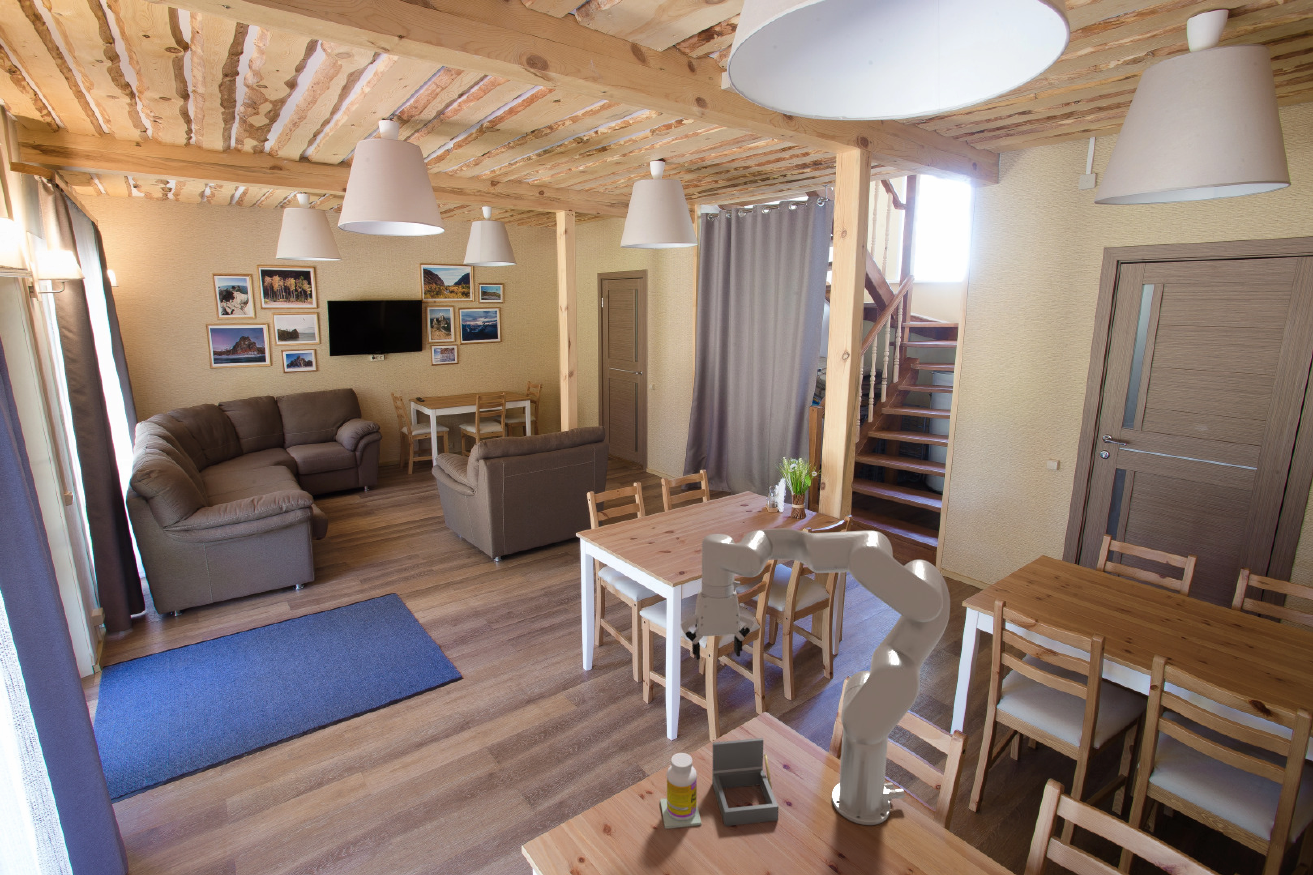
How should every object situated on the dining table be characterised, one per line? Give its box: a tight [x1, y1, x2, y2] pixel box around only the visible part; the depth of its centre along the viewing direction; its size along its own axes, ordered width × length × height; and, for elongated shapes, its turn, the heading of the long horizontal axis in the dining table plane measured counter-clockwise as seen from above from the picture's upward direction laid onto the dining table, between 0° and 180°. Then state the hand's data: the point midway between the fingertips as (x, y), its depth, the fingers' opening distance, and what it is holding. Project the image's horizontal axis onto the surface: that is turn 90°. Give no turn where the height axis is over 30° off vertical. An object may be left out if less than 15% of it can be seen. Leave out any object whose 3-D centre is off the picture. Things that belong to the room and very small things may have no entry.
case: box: [711, 737, 779, 827], centre depth 145 cm, size 13×13×11 cm
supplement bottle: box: [666, 752, 698, 821], centre depth 141 cm, size 7×7×13 cm
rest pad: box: [659, 798, 702, 830], centre depth 143 cm, size 8×8×1 cm
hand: (717, 655), depth 151 cm, fingers open, 9 cm apart
